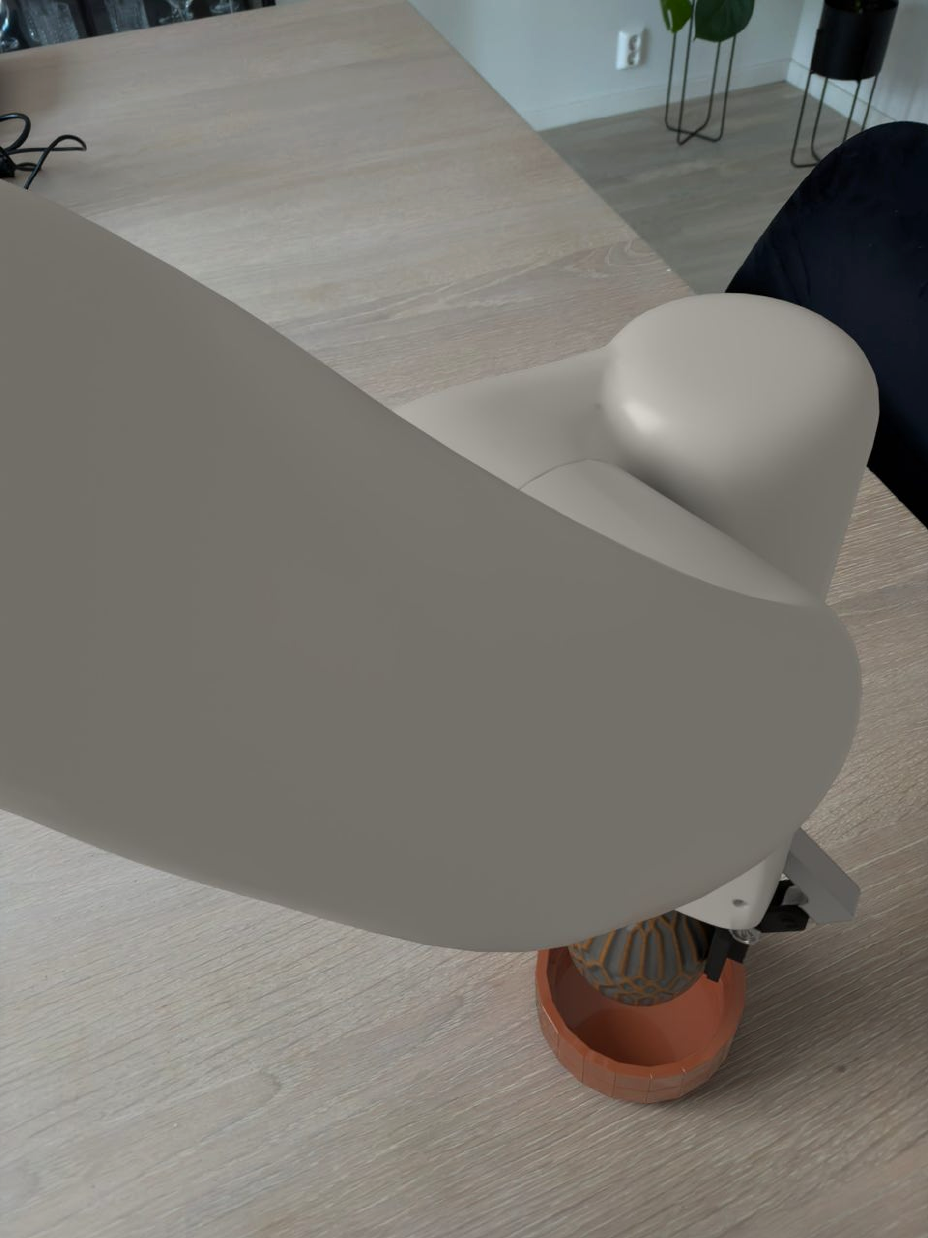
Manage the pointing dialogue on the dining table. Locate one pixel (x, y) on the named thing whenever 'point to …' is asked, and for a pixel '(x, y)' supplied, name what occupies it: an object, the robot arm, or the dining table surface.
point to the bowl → (637, 1031)
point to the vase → (646, 959)
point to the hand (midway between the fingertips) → (641, 915)
